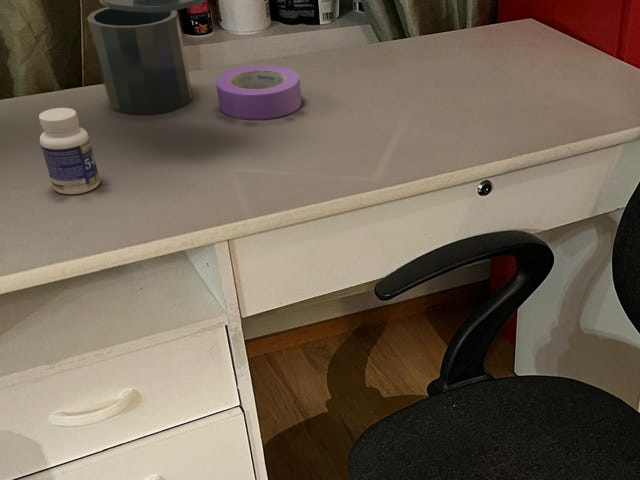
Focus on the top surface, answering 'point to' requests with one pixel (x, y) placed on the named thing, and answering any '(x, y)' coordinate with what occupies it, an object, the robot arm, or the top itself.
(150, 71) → the canister
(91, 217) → the top surface
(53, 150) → the pill bottle
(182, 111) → the top surface
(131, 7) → the canister lid
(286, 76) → the tape roll
